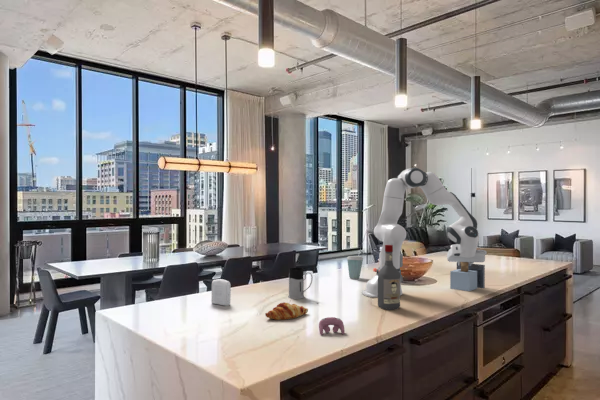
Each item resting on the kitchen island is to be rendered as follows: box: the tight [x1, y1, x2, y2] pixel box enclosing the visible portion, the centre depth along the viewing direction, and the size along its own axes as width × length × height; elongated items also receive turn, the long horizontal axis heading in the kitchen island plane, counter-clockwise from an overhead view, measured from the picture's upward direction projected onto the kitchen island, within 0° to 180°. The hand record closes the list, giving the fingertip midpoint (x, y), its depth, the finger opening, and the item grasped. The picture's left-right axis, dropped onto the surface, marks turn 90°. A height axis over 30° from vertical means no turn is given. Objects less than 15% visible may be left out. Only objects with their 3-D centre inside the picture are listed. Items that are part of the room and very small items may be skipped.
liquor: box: [377, 245, 401, 311], centre depth 207 cm, size 9×9×30 cm
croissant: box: [265, 301, 309, 321], centre depth 190 cm, size 21×10×8 cm, turn 122°
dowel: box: [461, 262, 468, 272], centre depth 249 cm, size 4×4×12 cm
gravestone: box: [210, 278, 232, 307], centre depth 214 cm, size 10×4×12 cm, turn 60°
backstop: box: [456, 262, 486, 289], centre depth 249 cm, size 20×16×14 cm
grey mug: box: [288, 267, 313, 300], centre depth 228 cm, size 9×14×15 cm, turn 59°
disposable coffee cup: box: [346, 255, 364, 280], centre depth 284 cm, size 11×11×15 cm
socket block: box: [449, 268, 478, 292], centre depth 249 cm, size 11×11×10 cm
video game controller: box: [318, 316, 345, 336], centre depth 168 cm, size 10×5×7 cm, turn 94°
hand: (464, 264), depth 250 cm, fingers closed on dowel, 4 cm apart
